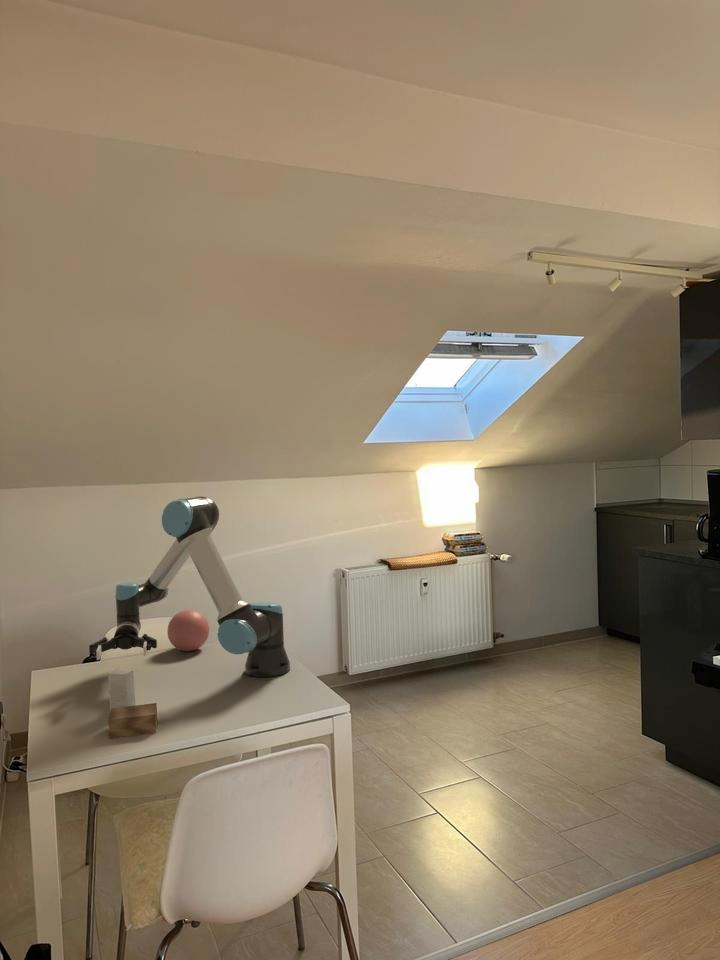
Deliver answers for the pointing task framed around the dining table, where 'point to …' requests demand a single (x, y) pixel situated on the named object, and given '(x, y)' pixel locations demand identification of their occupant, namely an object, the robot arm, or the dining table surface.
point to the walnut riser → (132, 720)
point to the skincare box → (121, 688)
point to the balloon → (188, 630)
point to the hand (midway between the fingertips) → (121, 653)
